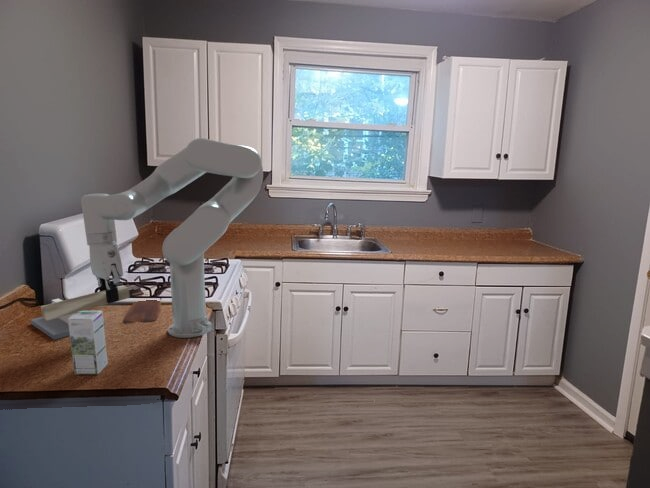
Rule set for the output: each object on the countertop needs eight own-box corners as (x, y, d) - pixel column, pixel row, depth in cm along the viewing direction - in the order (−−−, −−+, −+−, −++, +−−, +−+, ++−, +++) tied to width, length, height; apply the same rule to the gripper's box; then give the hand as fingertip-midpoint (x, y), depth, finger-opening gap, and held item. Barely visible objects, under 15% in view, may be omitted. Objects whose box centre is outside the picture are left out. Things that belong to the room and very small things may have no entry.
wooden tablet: (157, 323, 139) (157, 318, 139) (123, 326, 137) (122, 321, 136) (164, 297, 165) (164, 292, 164) (135, 298, 162) (135, 294, 162)
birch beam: (129, 297, 130) (128, 287, 129) (47, 320, 113) (45, 308, 113) (124, 295, 132) (123, 285, 131) (42, 317, 115) (40, 306, 115)
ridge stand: (104, 325, 135) (102, 305, 134) (54, 339, 125) (51, 318, 123) (79, 312, 147) (77, 293, 145) (31, 324, 136) (28, 304, 135)
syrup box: (108, 363, 111) (103, 309, 108) (97, 375, 105) (91, 317, 102) (85, 364, 111) (79, 309, 108) (73, 375, 105) (66, 318, 102)
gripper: (129, 239, 121) (136, 302, 125) (101, 233, 131) (109, 292, 135) (101, 243, 115) (110, 310, 119) (75, 237, 126) (84, 298, 129)
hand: (109, 300), depth 127 cm, fingers closed on birch beam, 3 cm apart
